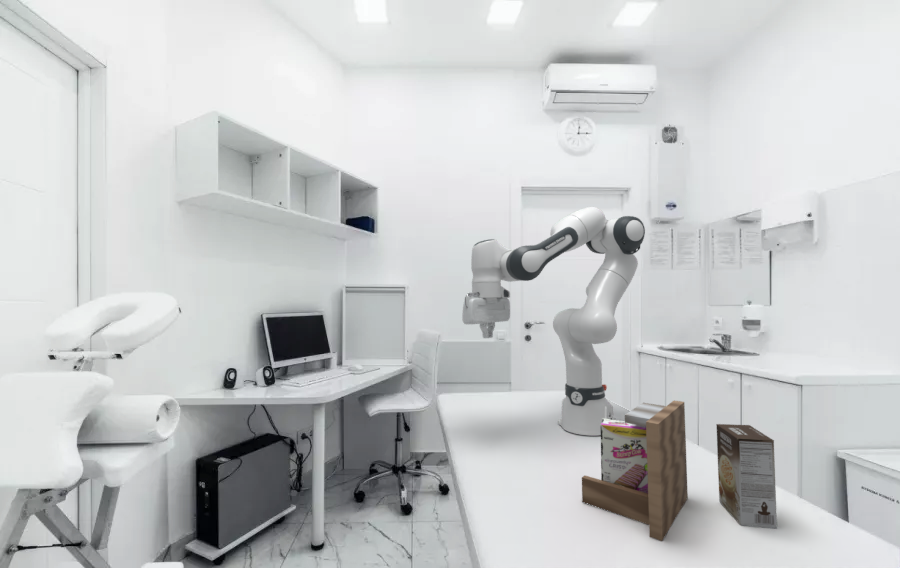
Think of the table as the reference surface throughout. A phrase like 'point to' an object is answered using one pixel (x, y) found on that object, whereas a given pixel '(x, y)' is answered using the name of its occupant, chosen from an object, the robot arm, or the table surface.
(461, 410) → the table surface
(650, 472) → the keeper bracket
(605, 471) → the candy bar box
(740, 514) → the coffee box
